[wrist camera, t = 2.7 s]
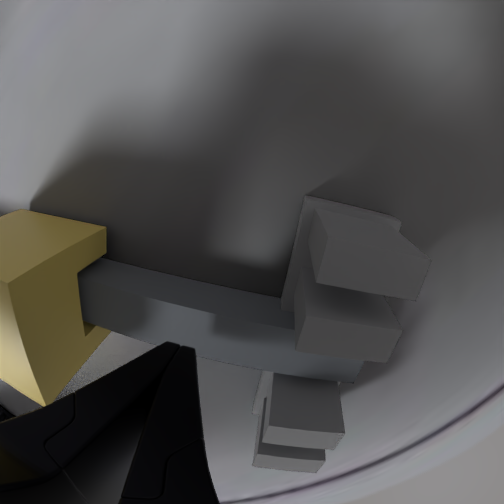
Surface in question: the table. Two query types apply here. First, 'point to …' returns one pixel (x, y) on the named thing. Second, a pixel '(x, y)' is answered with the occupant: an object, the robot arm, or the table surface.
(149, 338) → the grey long bar
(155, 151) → the table surface
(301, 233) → the grey boxy piece
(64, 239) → the pale yellow cube
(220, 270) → the table surface
